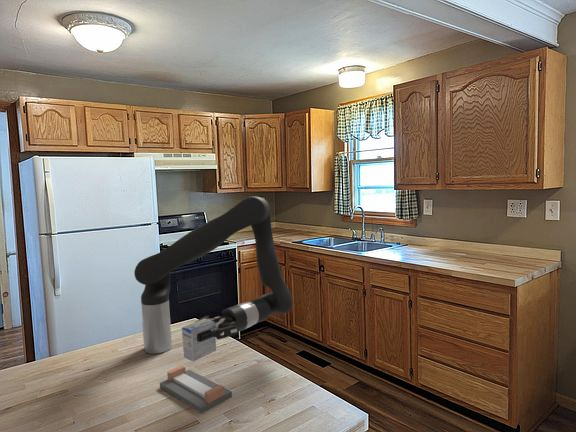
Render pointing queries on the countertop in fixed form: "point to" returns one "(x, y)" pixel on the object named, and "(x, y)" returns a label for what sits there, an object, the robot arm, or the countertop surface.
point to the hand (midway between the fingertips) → (192, 335)
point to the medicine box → (192, 346)
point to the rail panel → (194, 389)
